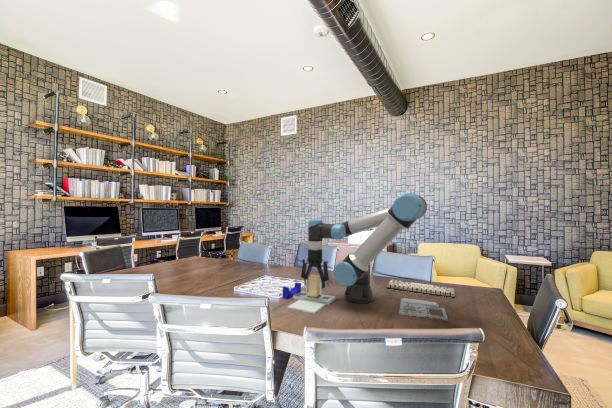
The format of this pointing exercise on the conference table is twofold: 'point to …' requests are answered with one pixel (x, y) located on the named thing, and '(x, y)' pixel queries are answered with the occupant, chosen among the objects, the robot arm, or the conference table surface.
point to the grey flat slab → (420, 308)
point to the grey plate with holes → (322, 299)
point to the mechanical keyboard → (421, 288)
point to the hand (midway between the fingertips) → (314, 292)
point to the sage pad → (306, 306)
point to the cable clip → (291, 291)
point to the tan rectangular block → (314, 286)
